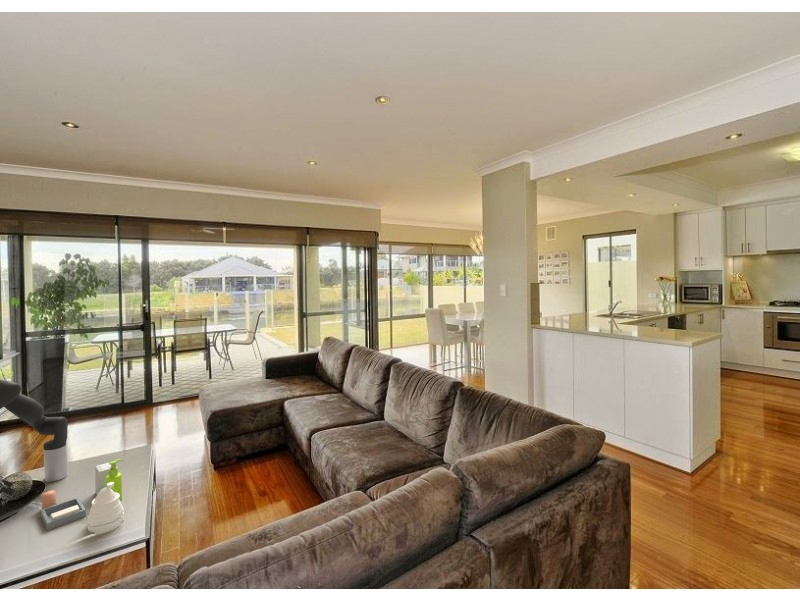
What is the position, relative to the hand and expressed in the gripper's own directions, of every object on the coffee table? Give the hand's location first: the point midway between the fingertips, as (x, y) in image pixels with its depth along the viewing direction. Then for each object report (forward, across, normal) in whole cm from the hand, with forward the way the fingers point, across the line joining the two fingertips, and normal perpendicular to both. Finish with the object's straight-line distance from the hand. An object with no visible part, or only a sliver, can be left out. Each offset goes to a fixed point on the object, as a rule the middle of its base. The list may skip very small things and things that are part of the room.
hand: (12, 489), depth 170 cm
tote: (+21, -13, 0) cm, 25 cm away
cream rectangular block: (+20, -17, 0) cm, 27 cm away
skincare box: (+33, -5, -12) cm, 36 cm away
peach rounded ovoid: (+19, 0, +2) cm, 19 cm away
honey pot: (+29, -33, -7) cm, 45 cm away
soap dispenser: (+35, -15, -13) cm, 40 cm away
